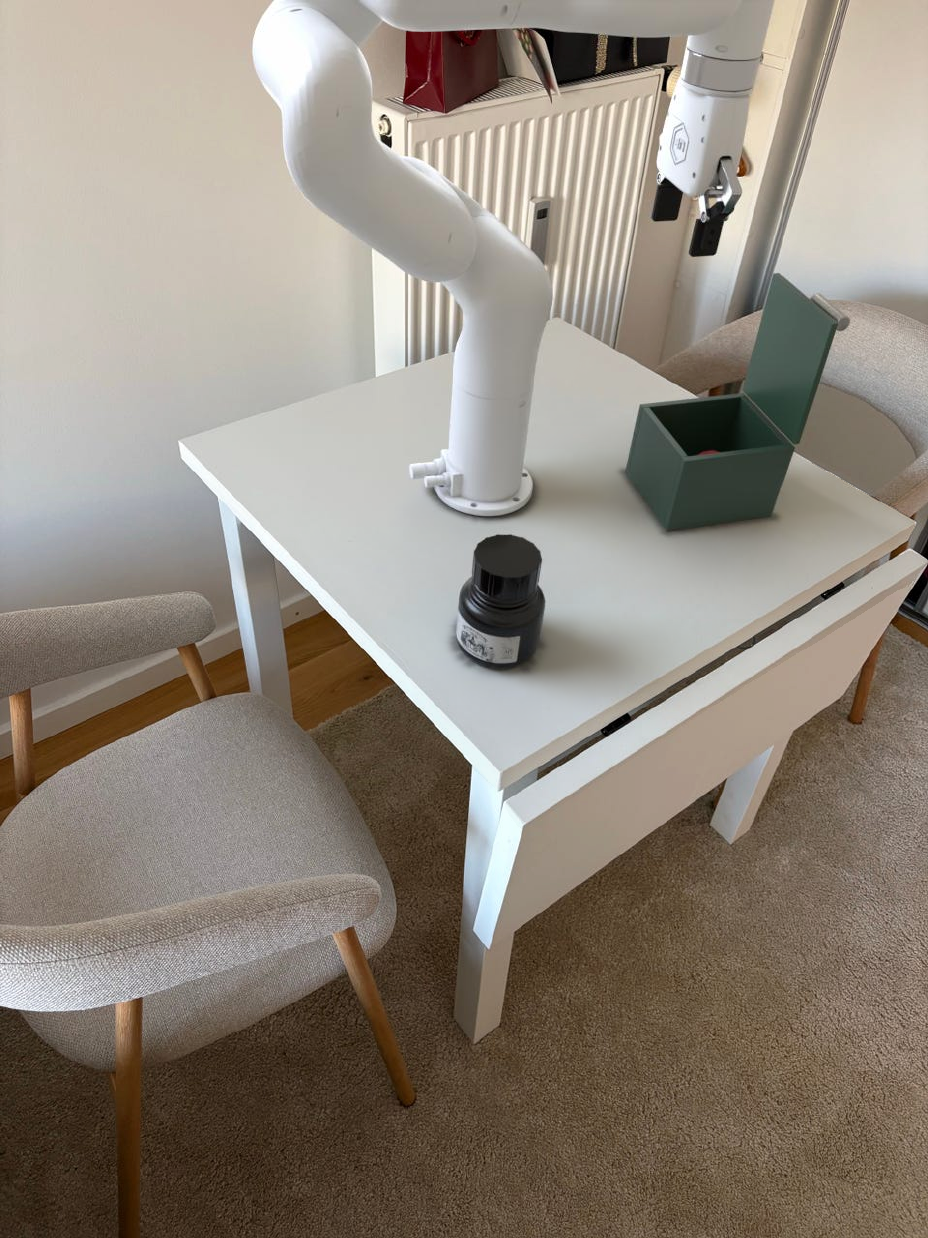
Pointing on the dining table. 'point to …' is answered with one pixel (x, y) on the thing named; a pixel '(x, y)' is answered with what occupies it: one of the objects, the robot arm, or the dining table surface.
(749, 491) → the bin
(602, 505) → the dining table surface
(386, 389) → the dining table surface
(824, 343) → the bin lid
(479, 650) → the ink bottle
